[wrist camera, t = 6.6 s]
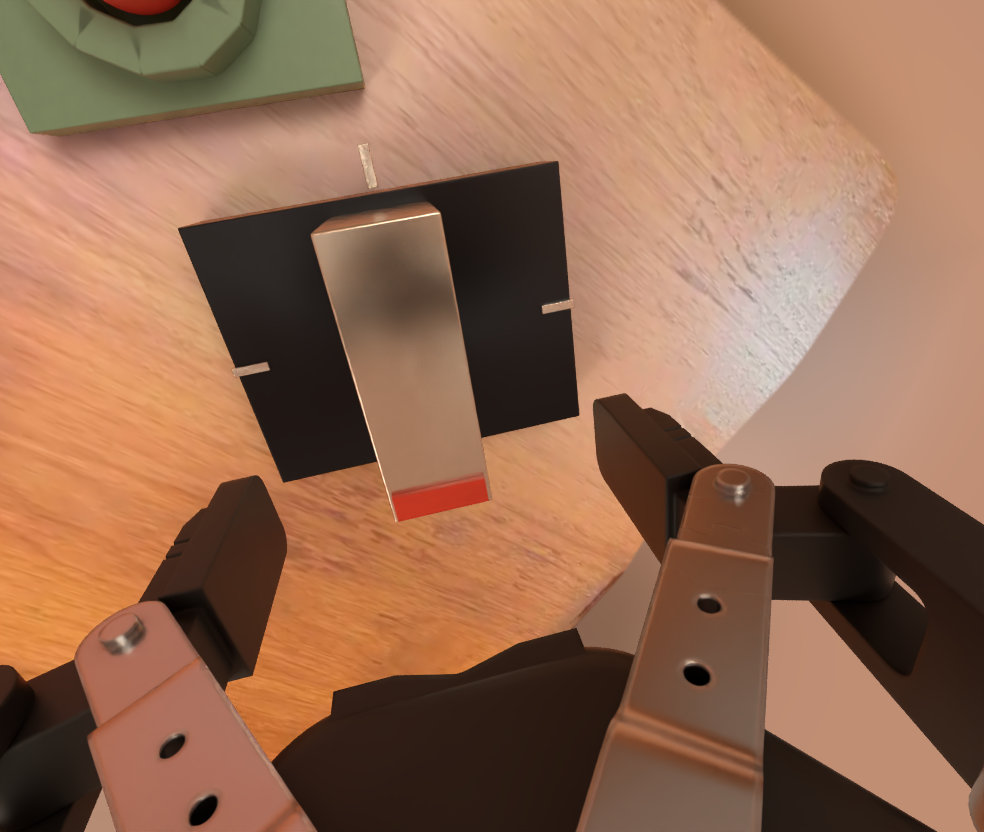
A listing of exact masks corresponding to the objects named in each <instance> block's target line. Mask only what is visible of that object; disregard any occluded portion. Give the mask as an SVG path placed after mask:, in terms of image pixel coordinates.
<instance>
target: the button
mask: <svg viewBox="0 0 984 832" xmlns="http://www.w3.org/2000/svg"><path fill="white" fill-rule="evenodd" d="M102 1H104V2H106V3H108V4H109V5H111V6H113V7H115V8H117V9H120V10H123V11H125V12H129V13H133V14H139V15H154V14H159V13H163V12H165V11H168V10H170V9H171V8H173V7H174V6H176V5H177V4H178V3H179V2H180V1H181V0H102Z"/></svg>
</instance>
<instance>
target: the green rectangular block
mask: <svg viewBox="0 0 984 832" xmlns="http://www.w3.org/2000/svg"><path fill="white" fill-rule="evenodd" d="M0 74H1V76H2V78H3V80H4V82H5V84H6V86H7V88H8V90H9V92H10V94H11V96H12V98H13V100H14V102H15V104H16V106H17V108H18V110H19V112H20V114H21V116H22V118H23V120H24V122H25V124H26V126H27V128H28V130H29V132H30V133H32V134H42V135H52V136H65V135H71V134H77V133H84V132H90V131H97V130H103V129H109V128H116V127H122V126H128V125H135V124H141V123H147V122H154V121H160V120H166V119H173V118H179V117H186V116H192V115H198V114H205V113H211V112H217V111H224V110H230V109H236V108H243V107H249V106H255V105H262V104H268V103H275V102H281V101H287V100H294V99H300V98H306V97H313V96H319V95H325V94H332V93H338V92H344V91H351V90H357V89H364V88H365V84H364V80H363V76H362V71H361V67H360V62H359V58H358V54H357V49H356V45H355V40H354V36H353V31H352V27H351V23H350V18H349V14H348V9H347V5H346V1H345V0H181V1H180V2H179V3H178V4H177V5H176V6H174V7H173V8H171V9H170V10H168V11H165V12H163V13H159V14H154V15H139V14H133V13H129V12H125V11H123V10H120V9H117V8H115V7H113V6H111V5H109V4H108V3H106V2H104V1H102V0H0Z"/></svg>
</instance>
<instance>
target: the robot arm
mask: <svg viewBox="0 0 984 832" xmlns="http://www.w3.org/2000/svg"><path fill="white" fill-rule="evenodd" d="M593 415H594V429H595V442H596V455H597V461H598V465H599V469H600V472H601V474H602V476H603V478H604V480H605V482H606V483H607V484H608V486H609V487H610V489H611V490H612V492H613V493H614V495H615V496H616V498H617V499H618V501H619V502H620V504H621V505H622V507H623V508H624V510H625V511H626V513H627V514H628V516H629V517H630V519H631V520H632V522H633V523H634V525H635V526H636V528H637V529H638V531H639V532H640V534H641V535H642V537H643V538H644V540H645V541H646V543H647V544H648V546H649V547H650V549H651V550H652V552H653V553H654V554H655V556H656V557H657V559H658V560H659V562H660V563H661V567H660V570H659V574H658V577H657V581H656V584H655V588H654V591H653V595H652V598H651V601H650V605H649V608H648V612H647V615H646V618H645V622H644V625H643V629H642V632H641V636H640V639H639V642H638V646H637V649H636V653H635V655H633V654H630V653H627V652H623V651H619V650H614V649H610V648H601V647H584V646H583V644H582V641H581V638H580V636H579V633H578V631H577V628H575V629H571V630H567V631H563V632H560V633H556V634H552V635H548V636H544V637H540V638H537V639H533V640H529V641H525V642H521V643H518V644H516V645H514V646H512V647H510V648H508V649H507V650H505V651H503V652H501V653H499V654H497V655H495V656H493V657H491V658H489V659H487V660H485V661H484V662H482V663H480V664H478V665H476V666H474V667H472V668H470V669H468V670H466V671H464V672H462V673H458V674H444V675H397V676H391V677H388V678H384V679H380V680H376V681H372V682H368V683H365V684H361V685H357V686H353V687H349V688H345V689H342V690H338V691H334V692H333V701H332V709H331V715H329V716H327V717H326V718H324V719H322V720H321V721H319V722H318V723H316V724H314V725H313V726H311V727H310V728H308V729H307V730H306V731H305V732H303V733H302V734H301V735H299V736H298V737H297V738H296V739H294V740H293V741H292V742H291V743H290V744H289V745H288V746H287V747H286V748H285V749H283V750H282V751H281V752H280V753H279V754H278V756H277V757H276V758H275V759H274V760H273V761H272V762H270V760H269V759H268V757H267V756H266V754H265V753H264V751H263V750H262V748H261V747H260V745H259V744H258V742H257V741H256V739H255V738H254V736H253V735H252V733H251V732H250V730H249V729H248V727H247V726H246V724H245V723H244V721H243V720H242V718H241V717H240V715H239V714H238V712H237V711H236V709H235V707H234V706H233V704H232V703H231V701H230V700H229V698H228V697H227V695H226V694H225V689H226V686H227V683H228V682H229V681H233V680H237V679H241V678H245V677H249V676H253V672H254V668H255V665H256V661H257V658H258V654H259V650H260V647H261V643H262V640H263V636H264V633H265V629H266V625H267V622H268V618H269V615H270V611H271V607H272V604H273V600H274V597H275V593H276V590H277V586H278V582H279V579H280V575H281V572H282V568H283V564H284V561H285V557H286V553H287V539H286V534H285V530H284V527H283V525H282V523H281V521H280V518H279V516H278V514H277V512H276V509H275V507H274V505H273V503H272V500H271V498H270V496H269V494H268V491H267V489H266V487H265V485H264V483H263V481H262V479H261V478H260V477H259V476H257V475H254V476H250V477H245V478H241V479H236V480H232V481H228V482H223V483H221V484H220V486H219V487H218V489H217V491H216V493H215V494H214V496H213V498H212V500H211V502H210V504H209V505H208V507H207V508H204V509H201V510H200V511H199V512H198V513H197V514H196V515H195V516H194V517H192V518H191V519H190V520H189V521H188V522H187V523H186V524H185V525H184V526H183V528H182V529H181V531H180V533H179V534H178V536H177V538H176V539H175V541H174V546H171V548H170V550H169V551H168V553H167V555H166V560H163V562H162V563H161V565H160V567H159V568H158V570H157V572H156V574H155V575H154V577H153V579H152V580H151V582H150V584H149V585H148V587H147V589H146V591H145V592H144V594H143V596H142V597H141V599H140V601H139V602H138V603H137V604H134V605H131V606H129V607H127V608H124V609H122V610H120V611H118V612H117V613H115V614H113V615H111V616H110V617H108V618H107V619H105V620H104V621H103V622H101V623H100V624H99V625H98V626H96V627H95V628H94V629H93V630H92V631H91V632H90V633H89V634H88V635H87V636H86V637H85V638H84V640H83V641H82V642H81V644H80V645H79V647H78V649H77V651H76V653H75V658H74V660H73V661H70V662H68V663H66V664H64V665H62V666H59V667H57V668H55V669H53V670H51V671H48V672H46V673H44V674H42V675H40V676H38V677H35V678H33V679H31V680H29V681H27V682H26V681H25V680H24V679H23V678H22V677H21V675H20V674H19V673H18V672H17V671H16V670H15V669H14V668H13V667H11V666H9V665H0V832H84V830H85V828H86V825H87V823H88V821H89V818H90V816H91V814H92V811H93V809H94V806H95V804H96V801H97V799H98V797H99V794H100V792H101V790H102V788H103V791H104V794H105V797H106V800H107V804H108V807H109V810H110V813H111V816H112V819H113V822H114V826H115V829H116V832H937V831H935V830H934V829H932V828H930V827H928V826H927V825H925V824H923V823H922V822H920V821H918V820H917V819H915V818H913V817H912V816H910V815H908V814H907V813H905V812H903V811H902V810H900V809H898V808H897V807H895V806H893V805H891V804H890V803H888V802H886V801H885V800H883V799H881V798H880V797H878V796H876V795H875V794H873V793H871V792H870V791H868V790H866V789H865V788H863V787H861V786H860V785H858V784H856V783H854V782H853V781H851V780H849V779H848V778H846V777H844V776H843V775H841V774H839V773H838V772H836V771H834V770H833V769H831V768H829V767H827V766H826V765H824V764H823V763H821V762H819V761H817V760H816V759H814V758H812V757H811V756H809V755H807V754H806V753H804V752H802V751H801V750H799V749H797V748H795V747H794V746H792V745H791V744H789V743H787V742H786V741H784V740H782V739H781V738H779V737H777V736H776V735H774V734H772V733H771V732H769V731H767V730H765V709H766V692H767V673H768V654H769V634H770V616H771V600H808V601H810V603H811V604H812V605H813V606H814V607H815V608H816V610H817V611H818V612H819V613H820V614H821V615H822V616H823V618H824V619H825V620H826V621H827V622H828V623H829V625H830V626H831V627H832V628H833V629H834V630H835V632H836V633H837V634H838V635H839V636H840V637H841V638H842V640H844V642H845V643H846V644H847V645H848V647H849V648H850V649H851V650H852V651H853V652H854V653H855V655H856V656H857V657H858V658H859V659H860V660H861V662H862V663H863V664H864V665H865V666H866V667H867V669H869V671H870V672H871V673H872V674H873V676H874V677H875V678H876V679H877V680H878V681H879V682H880V684H881V685H882V686H883V687H884V688H885V689H886V691H887V692H888V693H889V694H890V695H891V696H892V698H893V699H894V700H895V701H896V702H897V703H898V704H899V705H900V707H901V708H902V709H903V710H904V711H905V712H906V714H907V715H908V716H909V717H910V718H911V719H912V721H913V722H914V723H915V724H916V725H917V726H918V727H919V729H920V730H921V731H922V732H923V733H924V735H925V736H926V737H927V738H928V739H929V740H930V741H931V743H932V744H933V745H934V746H935V747H936V748H937V750H938V751H939V752H940V753H941V754H942V755H943V757H944V758H945V759H946V760H947V761H948V762H949V763H950V765H951V766H952V767H953V768H954V769H955V770H956V771H957V773H958V774H959V775H960V776H961V777H962V778H963V779H964V781H965V782H966V783H967V784H968V785H969V787H970V788H971V792H970V795H969V810H970V815H971V818H972V821H973V824H974V826H975V828H976V830H977V832H984V525H983V524H982V523H980V522H979V521H977V520H976V519H974V518H973V517H971V516H969V515H968V514H967V513H965V512H963V511H962V510H960V509H959V508H957V507H956V506H954V505H953V504H951V503H950V502H948V501H947V500H945V499H944V498H942V497H941V496H939V495H937V494H936V493H935V492H933V491H931V490H930V489H928V488H927V487H925V486H924V485H922V484H921V483H919V482H918V481H916V480H915V479H913V478H912V477H910V476H909V475H907V474H905V473H904V472H902V471H900V470H898V469H896V468H894V467H891V466H888V465H885V464H882V463H878V462H873V461H866V460H844V461H838V462H834V463H832V464H829V465H828V466H826V467H825V468H824V469H823V472H822V474H821V480H820V485H817V486H774V484H773V482H772V481H771V479H770V478H769V477H767V476H766V475H765V474H763V473H762V472H760V471H758V470H756V469H753V468H750V467H747V466H743V465H737V464H723V463H722V462H721V461H719V460H718V459H717V458H716V457H715V456H714V455H713V454H712V453H711V452H710V451H709V450H707V449H706V448H705V447H704V446H703V445H702V444H701V443H700V442H699V441H697V440H696V439H695V438H694V437H691V434H690V433H689V432H687V431H686V430H685V429H684V428H681V425H680V424H679V423H677V422H676V421H675V420H674V419H673V418H672V417H671V416H670V415H668V414H665V413H663V412H660V411H658V410H655V409H653V408H647V409H642V408H641V407H639V406H638V405H637V404H636V403H635V402H634V401H633V400H632V399H631V398H630V397H629V396H628V395H627V394H625V393H623V394H619V395H614V396H610V397H605V398H601V399H596V400H595V401H594V403H593ZM896 575H897V576H898V577H899V578H900V579H901V580H902V581H903V582H904V583H906V584H907V585H908V586H909V587H910V588H911V589H912V590H913V591H914V592H916V594H917V595H918V596H919V598H920V599H921V600H922V602H923V604H924V606H925V607H923V606H922V605H921V604H920V603H919V602H918V601H917V600H916V599H915V598H913V597H912V596H911V595H910V594H909V593H908V592H907V591H906V590H904V589H903V588H902V587H901V586H900V585H899V584H898V583H897V582H896V581H895V577H896Z"/></svg>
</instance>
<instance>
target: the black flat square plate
mask: <svg viewBox="0 0 984 832" xmlns="http://www.w3.org/2000/svg"><path fill="white" fill-rule="evenodd" d="M358 149H359V153H360V157H361V161H362V166H363V170H364V174H365V178H366V182H367V186H368V188H374V187H378V184H377V180H376V176H375V171H374V167H373V163H372V159H371V154H370V150H369V146H368V143H366V144H360V145H358ZM423 200H427V201H428V202H429V203H430V204H432V205H433V206H434V207H435V208H436V209H438V210H439V211H440V213H441V217H442V222H443V228H444V233H445V239H446V244H447V250H448V255H449V261H450V267H451V272H452V278H453V283H454V289H455V294H456V300H457V306H458V311H459V317H460V322H461V328H462V333H463V339H464V344H465V350H466V356H467V361H468V367H469V372H470V378H471V383H472V389H473V395H474V400H475V406H476V411H477V417H478V422H479V428H480V433H481V438H483V437H487V436H492V435H496V434H501V433H505V432H509V431H514V430H518V429H523V428H527V427H531V426H536V425H540V424H545V423H549V422H553V421H558V420H562V419H567V418H571V417H576V416H579V405H578V393H577V381H576V369H575V357H574V345H573V332H572V320H571V308H574V301H573V299H570V296H569V284H568V272H567V260H566V248H565V236H564V224H563V212H562V200H561V188H560V176H559V163H558V161H547V162H536V163H530V164H525V165H519V166H513V167H508V168H502V169H497V170H491V171H485V172H480V173H474V174H468V175H463V176H457V177H451V178H446V179H440V180H434V181H429V182H423V183H417V184H412V185H406V186H400V187H395V188H389V189H383V190H378V191H372V192H366V193H361V194H355V195H349V196H344V197H338V198H332V199H327V200H321V201H315V202H310V203H304V204H298V205H293V206H287V207H281V208H276V209H270V210H264V211H259V212H253V213H247V214H242V215H236V216H230V217H225V218H219V219H213V220H208V221H202V222H198V223H195V224H191V225H188V226H184V227H181V228H178V231H179V233H180V235H181V238H182V240H183V243H184V245H185V247H186V250H187V252H188V255H189V257H190V259H191V262H192V264H193V267H194V269H195V271H196V274H197V276H198V279H199V281H200V283H201V286H202V288H203V291H204V293H205V295H206V298H207V300H208V303H209V305H210V308H211V310H212V312H213V315H214V317H215V320H216V322H217V324H218V327H219V329H220V332H221V334H222V336H223V339H224V341H225V344H226V346H227V348H228V351H229V353H230V356H231V358H232V360H233V363H234V365H235V368H232V372H233V374H234V377H240V380H241V382H242V384H243V387H244V389H245V392H246V394H247V396H248V399H249V401H250V404H251V406H252V409H253V411H254V413H255V416H256V418H257V421H258V423H259V425H260V428H261V430H262V433H263V435H264V437H265V440H266V442H267V445H268V447H269V449H270V452H271V454H272V457H273V459H274V461H275V464H276V466H277V469H278V471H279V473H280V476H281V478H282V481H283V482H289V481H293V480H298V479H302V478H306V477H311V476H315V475H320V474H324V473H328V472H333V471H337V470H342V469H346V468H351V467H355V466H359V465H364V464H368V463H373V462H377V459H376V455H375V452H374V448H373V445H372V442H371V438H370V435H369V432H368V428H367V425H366V421H365V418H364V415H363V411H362V408H361V405H360V401H359V398H358V394H357V391H356V388H355V384H354V381H353V378H352V374H351V371H350V367H349V364H348V361H347V357H346V354H345V351H344V347H343V344H342V340H341V337H340V334H339V330H338V327H337V324H336V320H335V317H334V313H333V310H332V307H331V303H330V300H329V297H328V293H327V290H326V286H325V283H324V280H323V276H322V273H321V270H320V266H319V263H318V259H317V256H316V253H315V249H314V246H313V242H312V239H311V233H312V232H314V231H315V230H316V229H317V228H318V227H319V226H321V225H322V224H323V223H324V222H325V221H327V220H328V219H329V218H330V217H331V216H336V215H342V214H347V213H353V212H359V211H365V210H371V209H377V208H382V207H388V206H394V205H400V204H406V203H411V202H417V201H423Z"/></svg>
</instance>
